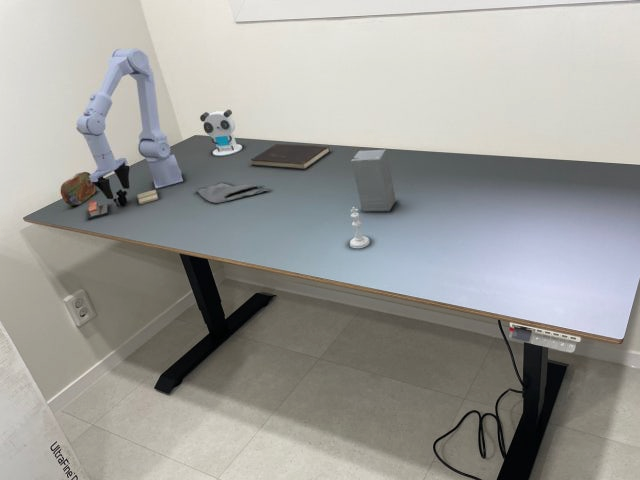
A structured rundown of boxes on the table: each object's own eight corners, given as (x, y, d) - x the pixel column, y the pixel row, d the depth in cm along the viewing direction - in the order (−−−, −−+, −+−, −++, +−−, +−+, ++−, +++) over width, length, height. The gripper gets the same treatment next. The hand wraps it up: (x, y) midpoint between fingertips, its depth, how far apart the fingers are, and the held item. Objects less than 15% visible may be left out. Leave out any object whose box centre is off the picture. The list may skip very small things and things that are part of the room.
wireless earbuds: (128, 200, 190) (122, 186, 187) (134, 199, 189) (129, 185, 186) (115, 209, 184) (109, 195, 181) (122, 209, 184) (116, 195, 181)
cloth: (184, 199, 183) (181, 193, 182) (213, 182, 192) (211, 176, 191) (244, 207, 170) (242, 201, 169) (272, 188, 180) (271, 182, 179)
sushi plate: (108, 205, 188) (104, 198, 186) (108, 214, 181) (104, 206, 180) (89, 211, 186) (85, 203, 185) (88, 220, 180) (85, 212, 178)
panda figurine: (206, 157, 216) (194, 118, 208) (218, 146, 226) (207, 108, 218) (235, 154, 214) (224, 115, 206) (246, 143, 223) (235, 105, 215)
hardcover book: (305, 169, 190) (303, 163, 189) (252, 165, 201) (250, 159, 200) (330, 152, 201) (328, 145, 200) (279, 149, 212) (277, 143, 211)
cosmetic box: (396, 201, 159) (389, 147, 150) (388, 213, 153) (380, 158, 145) (368, 201, 162) (359, 148, 153) (359, 212, 156) (350, 158, 148)
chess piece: (349, 240, 144) (342, 204, 138) (368, 237, 144) (362, 201, 138) (350, 249, 139) (343, 213, 134) (370, 246, 139) (364, 210, 134)
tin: (73, 209, 190) (63, 186, 185) (66, 209, 191) (55, 186, 186) (100, 190, 202) (90, 167, 198) (92, 190, 203) (83, 168, 198)
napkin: (156, 193, 191) (155, 189, 191) (158, 199, 186) (157, 195, 186) (138, 198, 190) (137, 194, 189) (139, 204, 185) (138, 200, 184)
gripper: (108, 145, 183) (124, 183, 191) (75, 162, 172) (93, 203, 180) (125, 144, 181) (140, 184, 188) (92, 162, 170) (110, 203, 177)
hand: (118, 193), depth 184 cm, fingers open, 7 cm apart
